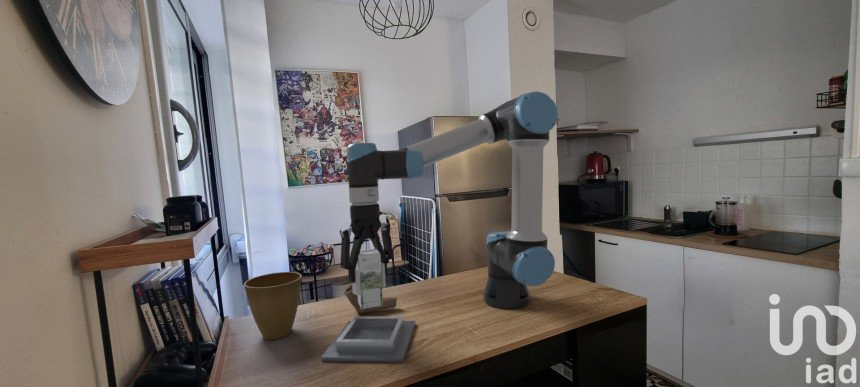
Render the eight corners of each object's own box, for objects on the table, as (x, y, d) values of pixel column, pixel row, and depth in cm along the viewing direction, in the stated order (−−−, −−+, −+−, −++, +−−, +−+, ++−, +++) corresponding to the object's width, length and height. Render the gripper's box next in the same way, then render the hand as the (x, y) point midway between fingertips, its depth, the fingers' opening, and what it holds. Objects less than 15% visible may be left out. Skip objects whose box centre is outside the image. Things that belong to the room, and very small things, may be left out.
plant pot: (299, 342, 94) (295, 284, 93) (240, 349, 92) (235, 290, 91) (309, 319, 109) (306, 269, 108) (259, 325, 106) (254, 273, 105)
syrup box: (378, 299, 96) (375, 247, 95) (383, 307, 90) (380, 252, 89) (357, 303, 94) (354, 249, 93) (361, 311, 89) (358, 254, 87)
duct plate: (415, 324, 102) (415, 312, 102) (403, 362, 82) (402, 348, 82) (349, 324, 104) (348, 312, 104) (321, 361, 84) (320, 347, 84)
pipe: (398, 313, 110) (397, 282, 110) (345, 319, 107) (342, 288, 107) (396, 305, 117) (395, 276, 116) (345, 311, 114) (343, 281, 113)
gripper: (334, 208, 81) (340, 304, 83) (404, 200, 94) (408, 284, 95) (321, 206, 87) (327, 296, 89) (389, 199, 99) (393, 278, 101)
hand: (369, 290), depth 92 cm, fingers closed on syrup box, 7 cm apart
